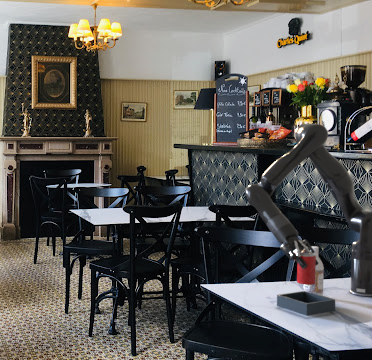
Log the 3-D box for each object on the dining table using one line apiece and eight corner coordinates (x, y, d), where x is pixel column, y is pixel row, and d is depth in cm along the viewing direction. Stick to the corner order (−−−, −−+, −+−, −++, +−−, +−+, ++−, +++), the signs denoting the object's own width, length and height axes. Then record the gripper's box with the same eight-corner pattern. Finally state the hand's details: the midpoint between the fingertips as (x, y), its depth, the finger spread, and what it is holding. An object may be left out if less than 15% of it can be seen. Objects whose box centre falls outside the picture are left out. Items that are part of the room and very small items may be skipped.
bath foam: (316, 301, 226) (317, 249, 225) (299, 297, 232) (300, 246, 230) (326, 298, 230) (328, 247, 228) (310, 294, 235) (311, 244, 234)
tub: (304, 304, 222) (304, 290, 221) (335, 313, 209) (335, 299, 209) (276, 308, 216) (277, 294, 216) (306, 318, 204) (306, 304, 204)
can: (305, 280, 216) (306, 251, 215) (319, 283, 211) (319, 254, 210) (293, 281, 214) (293, 253, 213) (306, 285, 208) (307, 256, 208)
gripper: (276, 224, 213) (306, 262, 204) (300, 221, 221) (329, 257, 212) (263, 237, 218) (291, 275, 209) (287, 233, 226) (315, 269, 217)
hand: (310, 266), depth 210 cm, fingers closed on can, 6 cm apart
